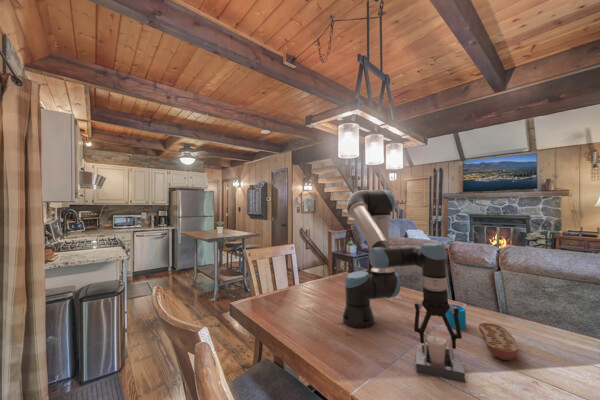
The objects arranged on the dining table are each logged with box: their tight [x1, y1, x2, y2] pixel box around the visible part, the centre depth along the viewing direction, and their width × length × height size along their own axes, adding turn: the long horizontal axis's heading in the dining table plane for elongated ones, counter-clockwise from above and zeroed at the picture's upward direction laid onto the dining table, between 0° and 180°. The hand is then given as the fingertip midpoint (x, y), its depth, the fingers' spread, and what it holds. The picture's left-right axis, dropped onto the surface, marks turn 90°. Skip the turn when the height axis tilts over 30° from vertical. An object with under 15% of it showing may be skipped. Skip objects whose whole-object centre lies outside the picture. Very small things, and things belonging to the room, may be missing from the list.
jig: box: [415, 342, 466, 384], centre depth 89 cm, size 14×11×5 cm
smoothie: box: [426, 326, 448, 366], centre depth 89 cm, size 6×6×14 cm
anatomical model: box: [478, 322, 519, 361], centre depth 99 cm, size 23×10×5 cm, turn 154°
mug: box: [445, 303, 467, 331], centre depth 121 cm, size 12×8×8 cm
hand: (438, 354), depth 89 cm, fingers open, 7 cm apart
